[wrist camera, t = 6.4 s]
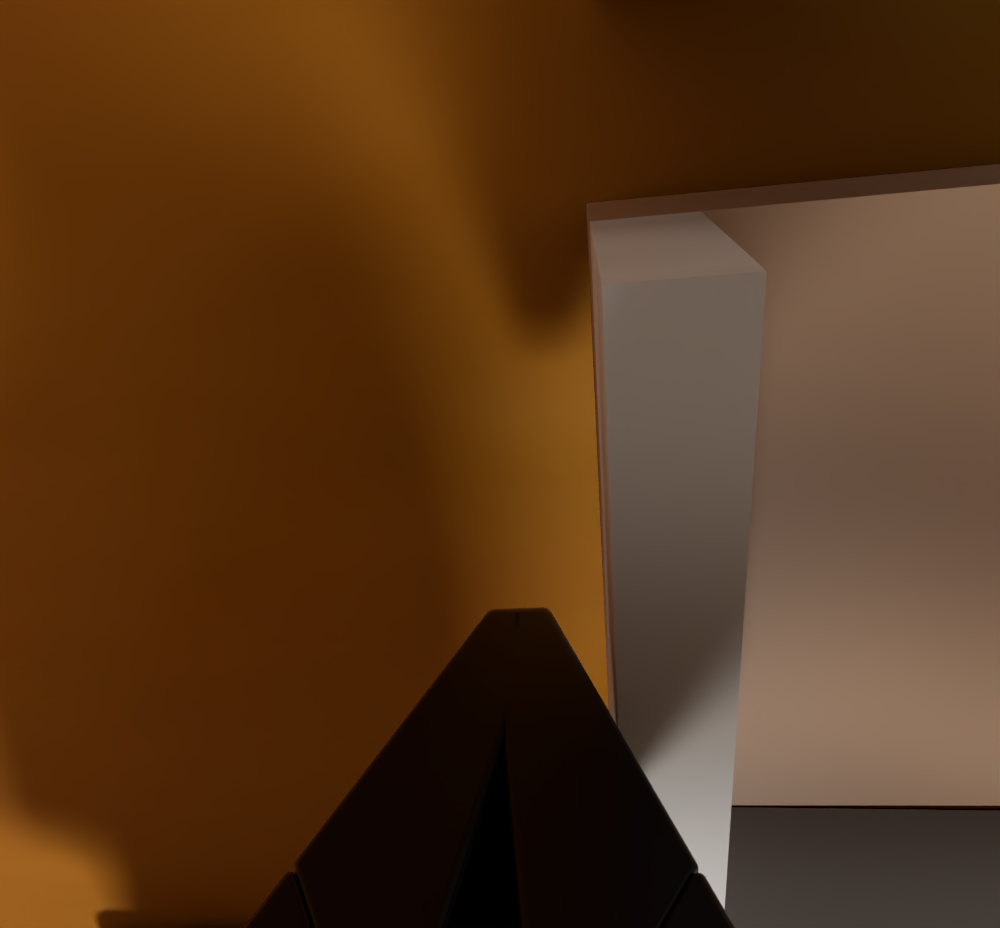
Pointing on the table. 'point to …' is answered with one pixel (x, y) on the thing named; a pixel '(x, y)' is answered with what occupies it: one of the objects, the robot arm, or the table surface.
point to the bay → (863, 868)
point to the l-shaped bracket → (802, 492)
